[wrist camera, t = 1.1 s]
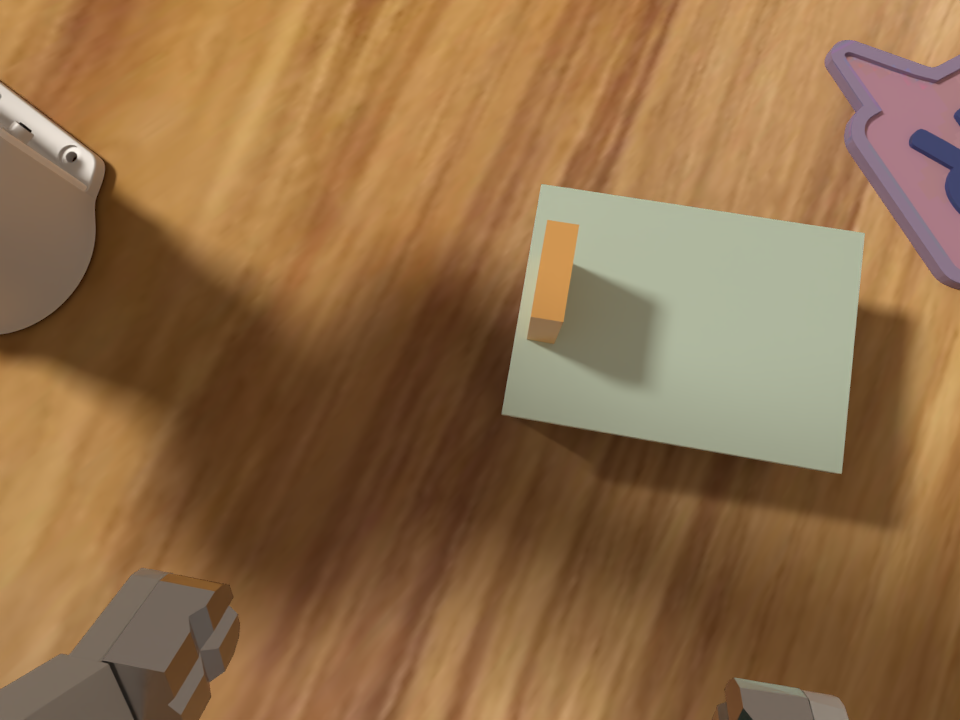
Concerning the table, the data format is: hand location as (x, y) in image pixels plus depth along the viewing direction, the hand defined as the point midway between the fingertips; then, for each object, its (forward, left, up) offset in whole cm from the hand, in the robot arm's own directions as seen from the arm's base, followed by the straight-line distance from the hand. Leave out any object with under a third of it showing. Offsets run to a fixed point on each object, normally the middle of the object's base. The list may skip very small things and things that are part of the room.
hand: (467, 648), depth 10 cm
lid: (-1, +15, -28) cm, 32 cm away
